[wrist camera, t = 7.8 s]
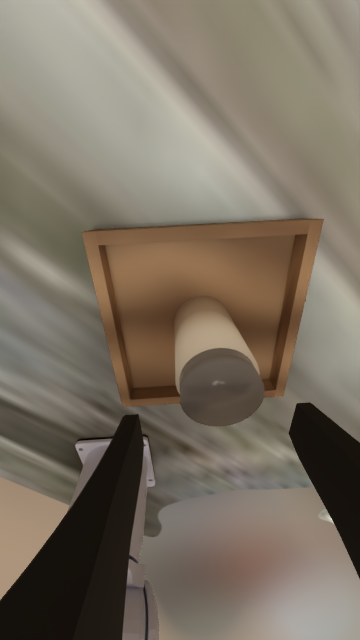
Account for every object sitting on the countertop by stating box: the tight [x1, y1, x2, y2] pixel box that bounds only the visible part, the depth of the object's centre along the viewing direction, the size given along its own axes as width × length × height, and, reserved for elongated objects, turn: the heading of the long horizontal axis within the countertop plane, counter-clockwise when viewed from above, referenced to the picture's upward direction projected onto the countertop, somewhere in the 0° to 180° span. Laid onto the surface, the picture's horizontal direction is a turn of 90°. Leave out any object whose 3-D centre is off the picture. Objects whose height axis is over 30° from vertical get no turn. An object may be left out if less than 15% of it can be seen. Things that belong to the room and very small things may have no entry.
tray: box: [82, 219, 324, 407], centre depth 17 cm, size 15×15×2 cm
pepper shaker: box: [174, 296, 265, 426], centre depth 14 cm, size 4×4×8 cm
